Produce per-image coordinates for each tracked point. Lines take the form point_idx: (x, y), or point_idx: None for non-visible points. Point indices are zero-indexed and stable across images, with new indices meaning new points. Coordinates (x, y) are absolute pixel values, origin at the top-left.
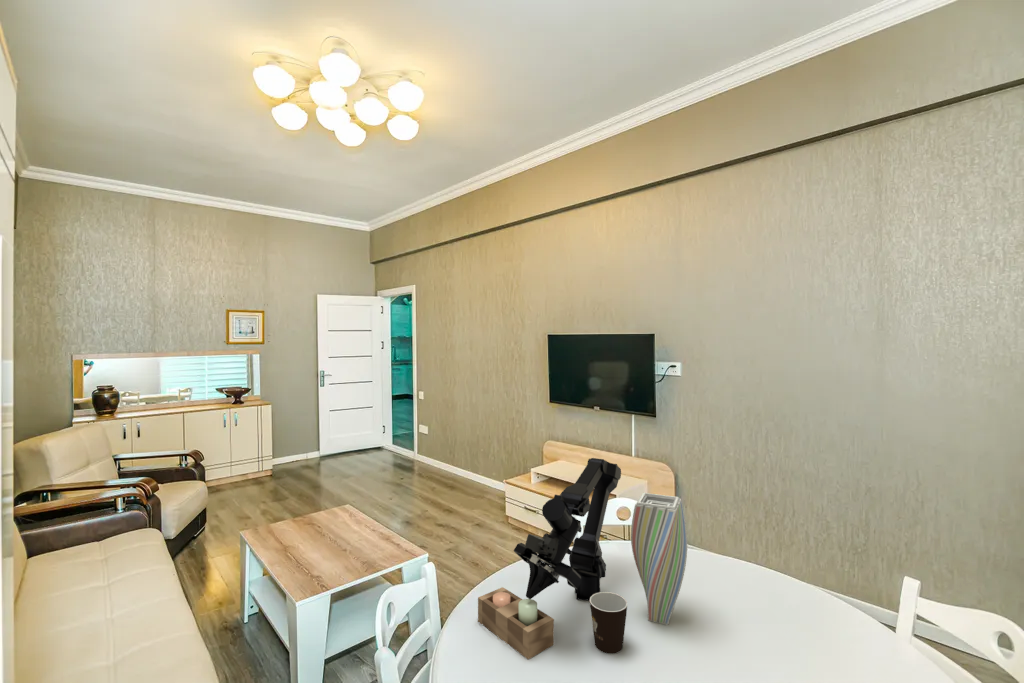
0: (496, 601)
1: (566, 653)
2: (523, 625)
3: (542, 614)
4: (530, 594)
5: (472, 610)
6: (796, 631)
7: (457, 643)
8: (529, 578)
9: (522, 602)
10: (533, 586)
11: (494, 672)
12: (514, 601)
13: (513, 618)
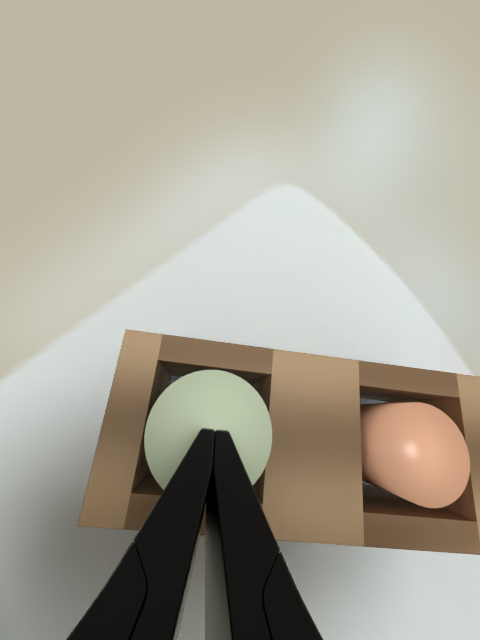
0: (405, 403)
1: (50, 481)
2: (176, 355)
3: None
4: (189, 451)
5: None
6: None
7: (353, 272)
8: (287, 579)
9: (247, 419)
10: (174, 509)
11: (191, 253)
12: (359, 488)
13: (249, 363)
